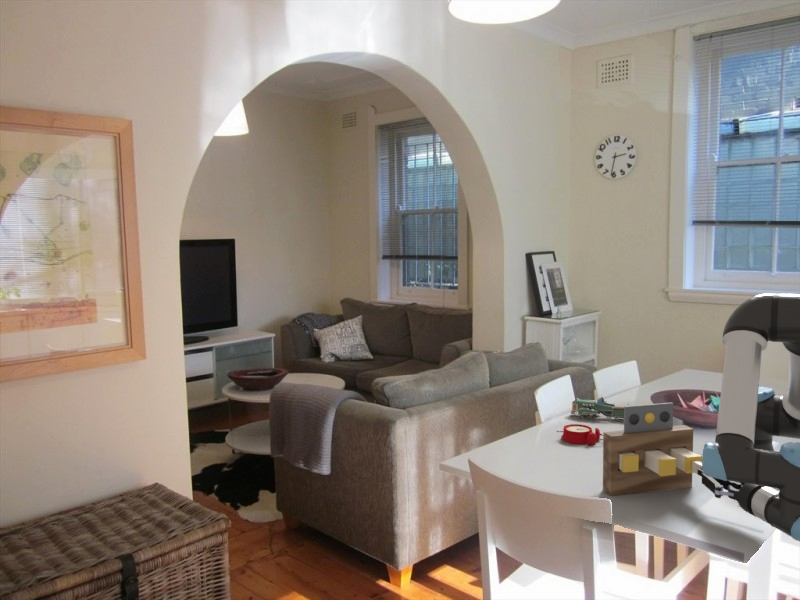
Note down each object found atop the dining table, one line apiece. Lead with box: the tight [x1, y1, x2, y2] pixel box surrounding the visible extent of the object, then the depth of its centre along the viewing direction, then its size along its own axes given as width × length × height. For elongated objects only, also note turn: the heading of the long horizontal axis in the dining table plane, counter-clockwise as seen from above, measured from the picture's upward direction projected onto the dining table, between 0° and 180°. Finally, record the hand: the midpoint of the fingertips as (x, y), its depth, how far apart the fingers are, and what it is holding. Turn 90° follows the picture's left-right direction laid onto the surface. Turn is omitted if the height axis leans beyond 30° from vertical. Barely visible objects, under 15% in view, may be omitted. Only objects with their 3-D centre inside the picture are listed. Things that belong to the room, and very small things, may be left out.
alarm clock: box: [556, 423, 603, 446], centre depth 220 cm, size 10×6×15 cm
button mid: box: [644, 449, 676, 476], centre depth 173 cm, size 9×4×4 cm, turn 12°
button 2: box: [669, 447, 702, 474], centre depth 174 cm, size 9×4×4 cm, turn 12°
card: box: [623, 402, 674, 433], centre depth 176 cm, size 1×14×7 cm, turn 102°
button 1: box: [618, 451, 639, 472], centre depth 176 cm, size 9×4×4 cm, turn 12°
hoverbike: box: [569, 396, 630, 421], centre depth 244 cm, size 10×25×8 cm, turn 63°
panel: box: [602, 424, 694, 497], centre depth 177 cm, size 4×24×16 cm, turn 102°
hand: (694, 466), depth 169 cm, fingers closed
